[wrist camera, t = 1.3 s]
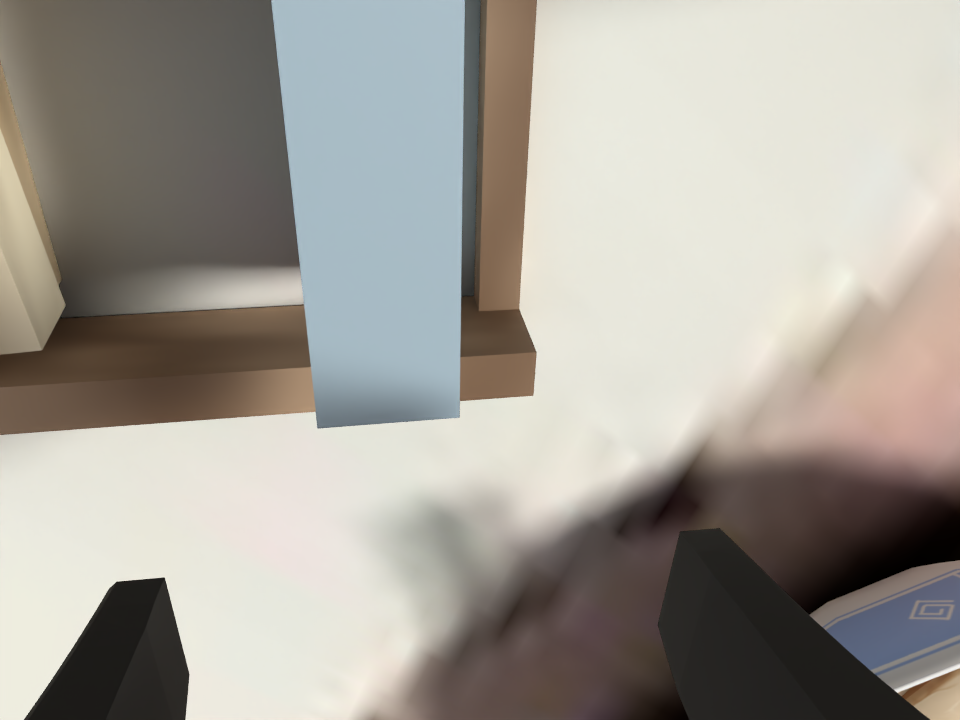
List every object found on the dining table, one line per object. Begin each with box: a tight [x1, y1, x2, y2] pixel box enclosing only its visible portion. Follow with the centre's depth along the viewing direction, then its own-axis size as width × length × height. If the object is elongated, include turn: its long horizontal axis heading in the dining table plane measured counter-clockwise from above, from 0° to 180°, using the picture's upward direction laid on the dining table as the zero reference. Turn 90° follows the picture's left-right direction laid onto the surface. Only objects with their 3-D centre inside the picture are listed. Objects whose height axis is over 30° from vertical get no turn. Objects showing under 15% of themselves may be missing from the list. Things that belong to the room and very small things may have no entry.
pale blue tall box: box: [271, 0, 465, 428], centre depth 15 cm, size 2×7×6 cm, turn 178°
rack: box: [0, 0, 537, 435], centre depth 16 cm, size 17×11×3 cm
